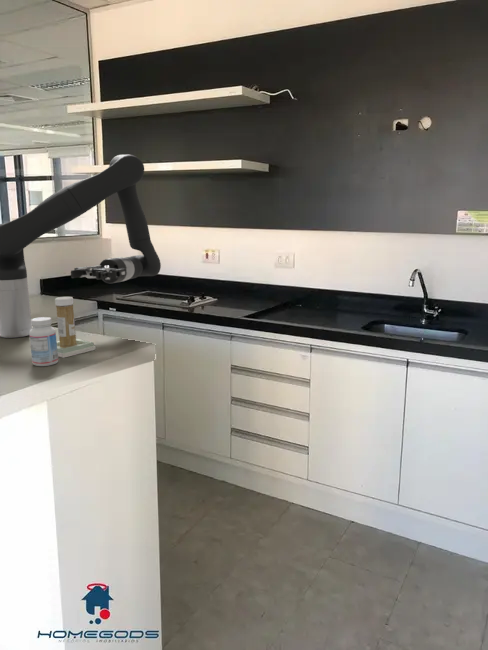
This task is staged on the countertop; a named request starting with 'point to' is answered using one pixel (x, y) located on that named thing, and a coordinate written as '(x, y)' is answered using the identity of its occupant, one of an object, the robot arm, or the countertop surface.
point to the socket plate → (75, 348)
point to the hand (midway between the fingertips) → (84, 275)
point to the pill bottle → (43, 342)
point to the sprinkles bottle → (66, 321)
